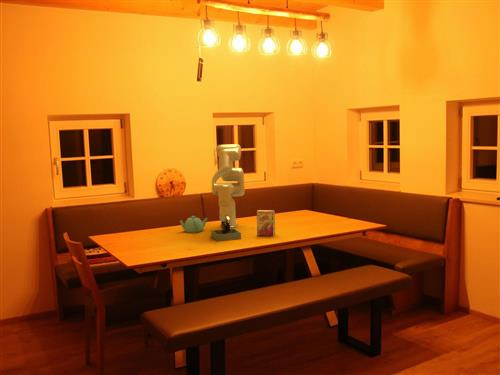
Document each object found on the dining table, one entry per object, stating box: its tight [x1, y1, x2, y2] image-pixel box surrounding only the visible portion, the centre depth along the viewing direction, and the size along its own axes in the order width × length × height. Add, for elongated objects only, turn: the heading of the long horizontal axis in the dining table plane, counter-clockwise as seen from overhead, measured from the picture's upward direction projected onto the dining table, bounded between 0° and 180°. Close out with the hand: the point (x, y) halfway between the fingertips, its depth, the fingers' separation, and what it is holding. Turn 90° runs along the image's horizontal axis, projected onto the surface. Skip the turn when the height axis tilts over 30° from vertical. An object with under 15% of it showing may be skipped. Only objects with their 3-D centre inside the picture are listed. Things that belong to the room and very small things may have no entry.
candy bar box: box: [256, 209, 276, 237], centre depth 338 cm, size 11×5×16 cm, turn 70°
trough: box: [210, 227, 242, 242], centre depth 336 cm, size 16×16×4 cm
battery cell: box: [221, 223, 229, 234], centre depth 335 cm, size 4×4×9 cm
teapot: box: [179, 215, 208, 234], centre depth 361 cm, size 15×15×11 cm
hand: (225, 229), depth 335 cm, fingers open, 9 cm apart
